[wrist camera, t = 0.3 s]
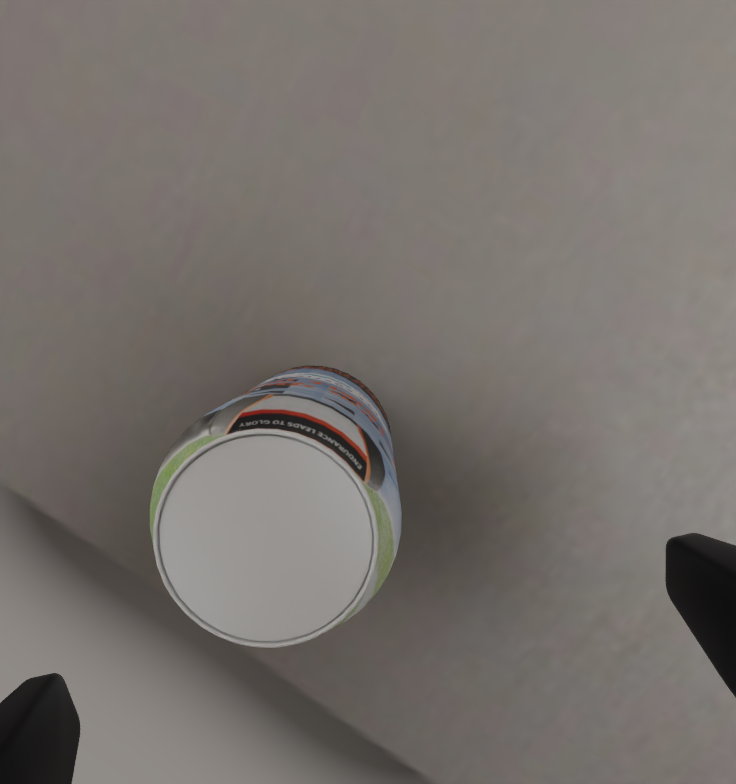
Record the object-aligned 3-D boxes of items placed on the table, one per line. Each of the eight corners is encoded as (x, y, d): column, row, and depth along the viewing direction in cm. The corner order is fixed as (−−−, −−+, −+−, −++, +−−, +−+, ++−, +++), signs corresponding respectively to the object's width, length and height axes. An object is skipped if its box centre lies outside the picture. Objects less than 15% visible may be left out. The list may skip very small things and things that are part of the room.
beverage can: (412, 409, 25) (498, 420, 13) (331, 571, 25) (344, 731, 13) (274, 338, 25) (236, 286, 13) (189, 503, 25) (70, 604, 13)
